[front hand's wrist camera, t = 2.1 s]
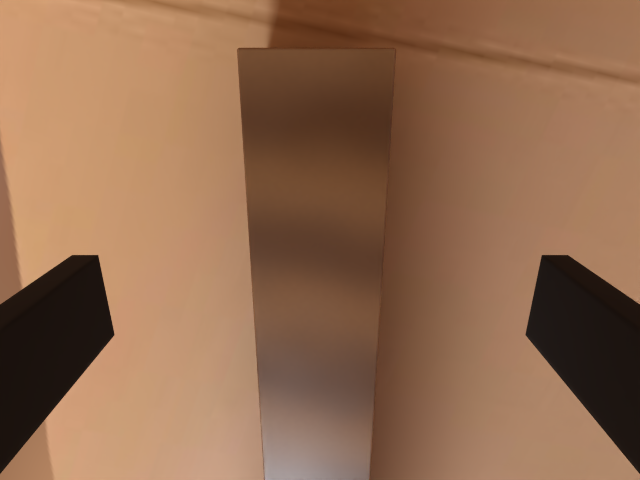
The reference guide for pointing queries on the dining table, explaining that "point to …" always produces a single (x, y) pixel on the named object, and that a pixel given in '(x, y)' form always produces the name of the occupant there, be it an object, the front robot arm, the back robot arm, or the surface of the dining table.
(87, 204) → the dining table surface
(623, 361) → the front robot arm
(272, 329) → the beam
